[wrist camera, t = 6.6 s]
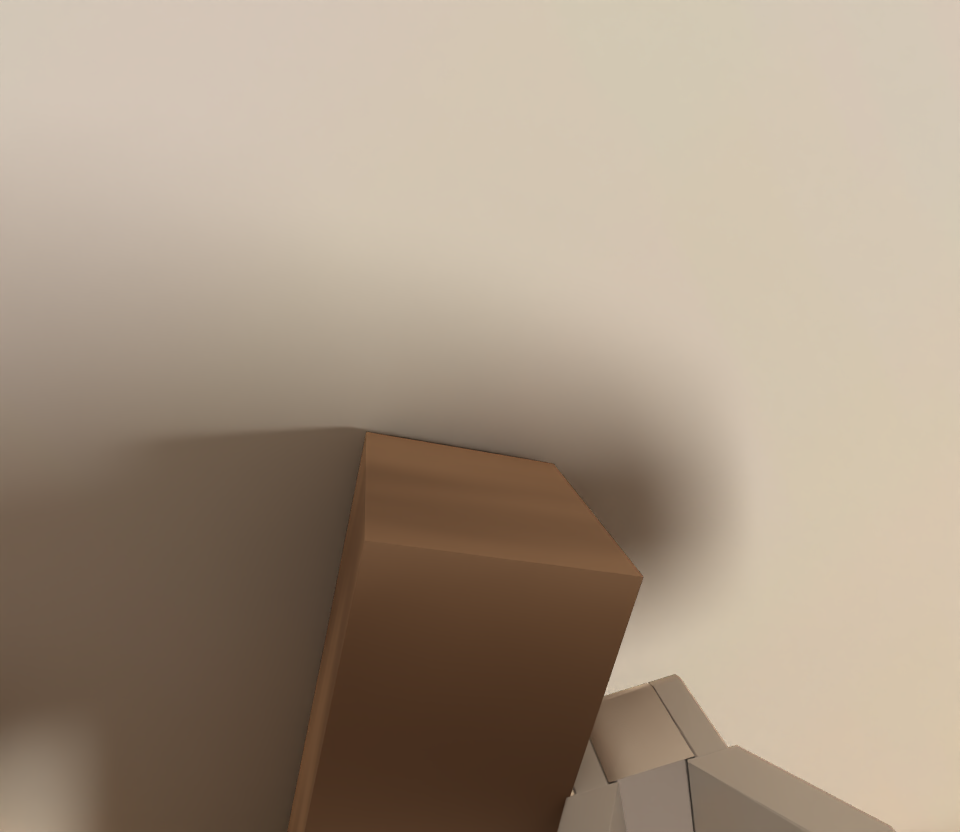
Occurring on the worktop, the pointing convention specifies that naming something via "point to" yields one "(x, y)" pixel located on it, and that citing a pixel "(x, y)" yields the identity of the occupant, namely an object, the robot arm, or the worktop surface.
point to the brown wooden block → (460, 646)
